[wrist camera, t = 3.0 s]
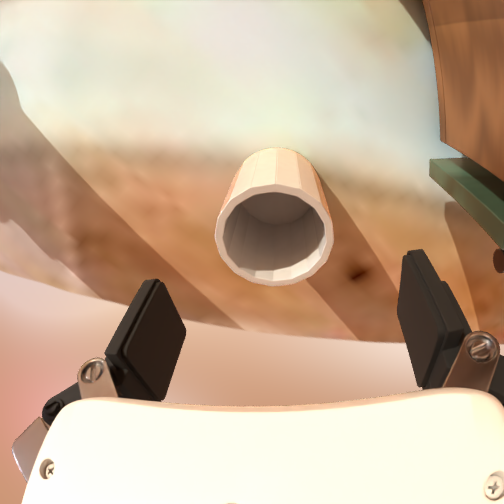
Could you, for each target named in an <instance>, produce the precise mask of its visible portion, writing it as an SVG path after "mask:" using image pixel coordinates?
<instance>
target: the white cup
mask: <svg viewBox="0 0 504 504" xmlns="http://www.w3.org/2000/svg"><path fill="white" fill-rule="evenodd" d="M215 241H216V244H217V247H218V250H219V253H220V256H221V258H222V259H223V260H224V261H225V263H226V264H227V265H228V266H229V267H230V268H231V270H232V271H233V272H234V273H236V274H238V275H240V276H241V277H243V278H245V279H247V280H249V281H250V282H253V283H257V284H262V285H267V286H282V285H291V284H295V283H298V282H300V281H302V280H304V279H306V278H308V277H310V276H312V275H314V274H315V273H316V272H317V271H318V270H319V269H320V268H321V267H322V266H323V265H324V264H325V262H326V261H327V260H328V257H329V255H330V252H331V249H332V247H333V244H334V233H333V222H332V219H331V215H330V212H329V208H328V205H327V202H326V199H325V195H324V192H323V189H322V186H321V183H320V179H319V177H318V175H317V173H316V171H315V169H314V167H313V166H312V165H311V163H310V162H309V161H308V160H307V159H306V158H305V157H303V156H302V155H300V154H299V153H297V152H295V151H293V150H289V149H286V148H267V149H263V150H260V151H258V152H256V153H254V154H252V155H251V156H249V157H248V158H247V159H246V160H245V161H244V162H243V163H242V164H241V166H240V167H239V169H238V171H237V173H236V174H235V176H234V179H233V181H232V184H231V186H230V188H229V191H228V193H227V196H226V198H225V201H224V203H223V206H222V208H221V211H220V213H219V215H218V218H217V224H216V231H215Z"/></svg>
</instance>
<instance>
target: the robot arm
mask: <svg viewBox="0 0 504 504" xmlns="http://www.w3.org/2000/svg"><path fill="white" fill-rule="evenodd" d="M397 315H398V319H399V322H400V325H401V329H402V332H403V335H404V338H405V342H406V345H407V349H408V352H409V356H410V359H411V363H412V367H413V371H414V374H415V378H416V382H417V386H418V387H422V388H423V390H421V391H413V392H407V393H401V394H394V395H388V396H381V397H374V398H366V399H359V400H350V401H341V402H331V403H320V404H304V405H285V406H213V405H192V404H179V403H167V402H161V400H164V399H165V396H166V393H167V390H168V387H169V384H170V381H171V378H172V375H173V372H174V369H175V366H176V363H177V360H178V357H179V354H180V351H181V348H182V345H183V342H184V339H185V336H186V328H185V326H184V324H183V322H182V320H181V318H180V316H179V314H178V312H177V310H176V307H175V305H174V303H173V301H172V299H171V297H170V295H169V293H168V291H167V288H166V286H165V284H164V283H163V282H161V281H160V280H159V279H151V280H145V281H144V282H143V284H142V285H141V287H140V289H139V290H138V292H137V294H136V296H135V297H134V299H133V301H132V303H131V304H130V306H129V308H128V310H127V312H126V314H125V316H124V317H123V319H122V321H121V323H120V324H119V326H118V328H117V330H116V332H115V334H114V336H113V338H112V339H111V341H110V343H109V345H108V347H107V349H106V351H105V355H106V358H105V360H104V359H102V358H93V359H90V360H88V361H87V362H85V363H84V364H83V365H82V366H81V368H80V369H79V372H78V375H77V379H78V382H77V383H75V384H74V385H72V386H71V387H69V388H67V389H66V390H64V391H62V392H61V393H59V394H57V395H56V396H54V397H52V398H51V399H50V400H48V401H47V403H46V404H45V406H44V408H43V411H42V418H40V417H38V418H37V419H36V420H35V421H34V422H33V423H32V424H31V425H30V426H29V427H28V428H27V429H26V430H25V431H24V432H23V433H22V434H21V435H20V436H19V437H18V438H17V439H16V441H15V442H14V443H13V446H12V453H13V456H14V458H15V460H16V463H17V465H18V467H19V469H20V471H21V473H22V474H23V476H24V478H25V480H26V482H27V487H26V490H25V494H24V497H23V501H22V504H504V356H502V355H500V346H499V343H498V342H497V340H496V339H495V338H494V337H493V336H492V335H491V334H489V333H487V332H483V331H474V332H472V331H471V329H470V326H469V324H468V322H467V320H466V318H465V316H464V314H463V312H462V310H461V308H460V306H459V304H458V302H457V300H456V298H455V297H454V295H453V293H452V291H451V289H450V287H449V286H448V284H447V283H446V282H445V281H441V280H440V278H439V277H438V275H437V273H436V271H435V269H434V268H433V266H432V264H431V262H430V261H429V259H428V257H427V256H426V254H425V252H424V251H423V249H418V250H411V251H408V252H407V255H404V256H403V260H402V271H401V281H400V290H399V298H398V306H397Z"/></svg>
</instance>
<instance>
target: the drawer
mask: <svg viewBox="0 0 504 504" xmlns="http://www.w3.org/2000/svg"><path fill="white" fill-rule="evenodd" d="M422 1H423V5H424V9H425V13H426V18H427V22H428V27H429V32H430V37H431V43H432V49H433V56H434V63H435V70H436V79H437V88H438V100H439V115H440V140H441V141H442V142H444V143H445V144H447V145H449V146H451V147H452V148H454V149H456V150H457V151H459V152H461V153H462V154H464V155H465V156H467V157H469V158H448V159H430V172H429V176H430V177H431V178H432V179H433V180H434V181H435V182H437V183H438V184H439V185H440V186H441V187H442V188H443V189H444V190H445V191H446V192H447V193H448V194H449V195H451V196H452V197H453V198H454V199H455V200H456V201H457V202H458V203H459V204H460V205H461V206H462V207H463V208H464V209H465V210H466V211H467V212H468V213H469V214H470V215H471V216H472V217H473V218H474V219H475V221H476V222H477V223H478V224H479V225H480V226H481V227H482V228H483V229H484V230H485V231H486V232H487V234H488V235H489V236H490V237H491V238H492V239H493V240H494V241H495V243H496V244H497V245H498V246H499V247H500V249H497V250H496V251H495V252H494V256H493V263H494V267H495V269H496V271H497V272H498V273H504V0H422Z"/></svg>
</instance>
